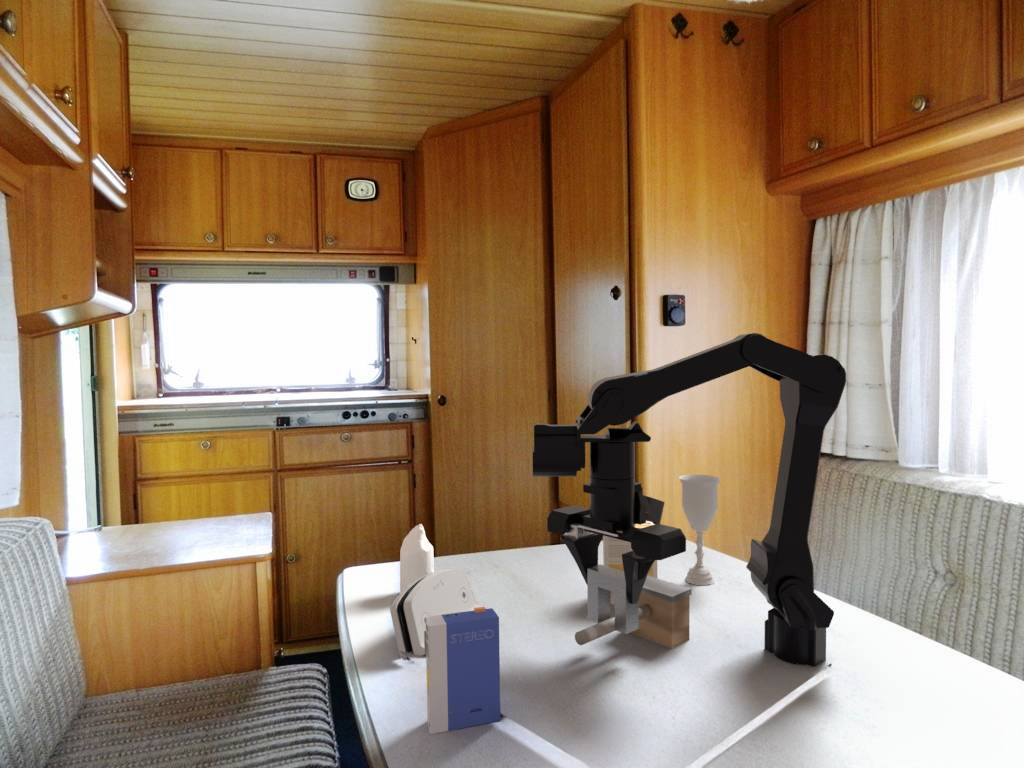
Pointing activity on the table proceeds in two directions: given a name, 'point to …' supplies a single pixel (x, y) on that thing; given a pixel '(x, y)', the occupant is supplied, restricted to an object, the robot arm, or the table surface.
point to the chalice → (699, 518)
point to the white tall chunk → (415, 557)
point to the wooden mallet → (653, 615)
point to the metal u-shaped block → (599, 598)
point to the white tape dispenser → (429, 606)
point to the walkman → (462, 669)
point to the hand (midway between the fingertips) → (612, 596)
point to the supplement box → (614, 554)
